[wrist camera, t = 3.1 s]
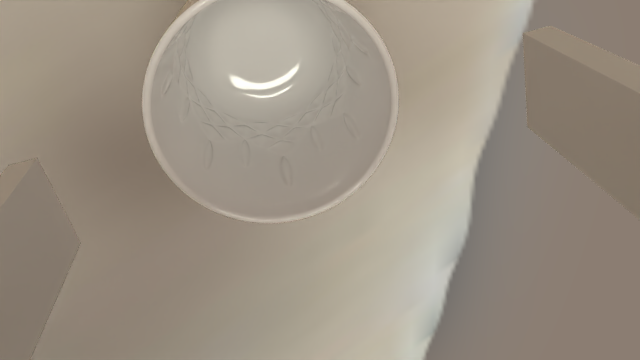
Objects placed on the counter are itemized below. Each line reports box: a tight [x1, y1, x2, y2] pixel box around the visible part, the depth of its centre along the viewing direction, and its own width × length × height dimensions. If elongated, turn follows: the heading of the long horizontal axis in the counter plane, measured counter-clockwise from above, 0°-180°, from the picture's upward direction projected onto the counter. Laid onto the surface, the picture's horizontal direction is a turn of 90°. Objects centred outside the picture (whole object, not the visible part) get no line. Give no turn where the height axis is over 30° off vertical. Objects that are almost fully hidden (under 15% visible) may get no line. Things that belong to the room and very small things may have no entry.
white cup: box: [142, 0, 399, 223], centre depth 22 cm, size 8×8×10 cm
